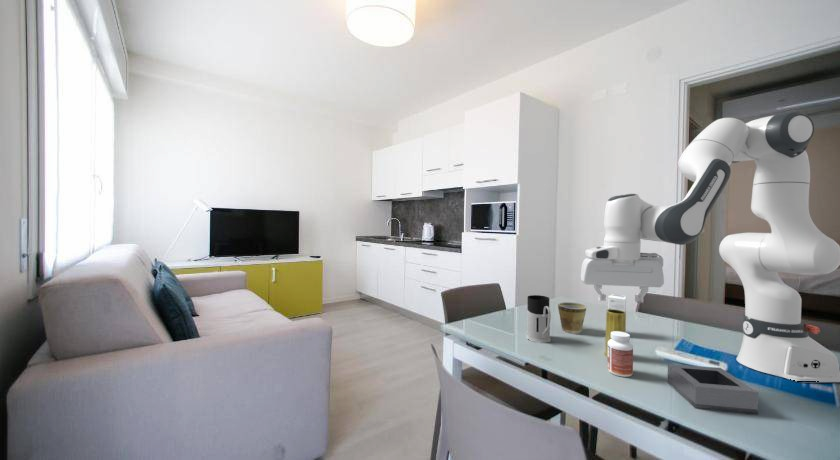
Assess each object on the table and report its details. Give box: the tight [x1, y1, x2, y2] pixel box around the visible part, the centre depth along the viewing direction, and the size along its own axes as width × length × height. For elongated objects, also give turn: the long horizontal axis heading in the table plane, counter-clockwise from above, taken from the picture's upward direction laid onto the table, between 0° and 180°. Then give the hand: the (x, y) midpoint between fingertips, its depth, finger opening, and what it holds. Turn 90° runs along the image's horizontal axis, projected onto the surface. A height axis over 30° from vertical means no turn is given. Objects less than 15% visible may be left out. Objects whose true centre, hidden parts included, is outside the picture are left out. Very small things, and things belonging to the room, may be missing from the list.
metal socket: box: [667, 363, 759, 415], centre depth 80 cm, size 12×12×5 cm
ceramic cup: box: [557, 301, 587, 335], centre depth 129 cm, size 13×10×10 cm
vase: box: [604, 309, 627, 357], centre depth 104 cm, size 6×6×14 cm
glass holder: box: [525, 294, 552, 344], centre depth 117 cm, size 9×14×15 cm, turn 2°
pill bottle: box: [606, 331, 634, 378], centre depth 93 cm, size 6×6×11 cm
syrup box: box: [607, 293, 627, 313], centre depth 124 cm, size 6×6×14 cm
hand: (620, 301), depth 92 cm, fingers open, 8 cm apart
